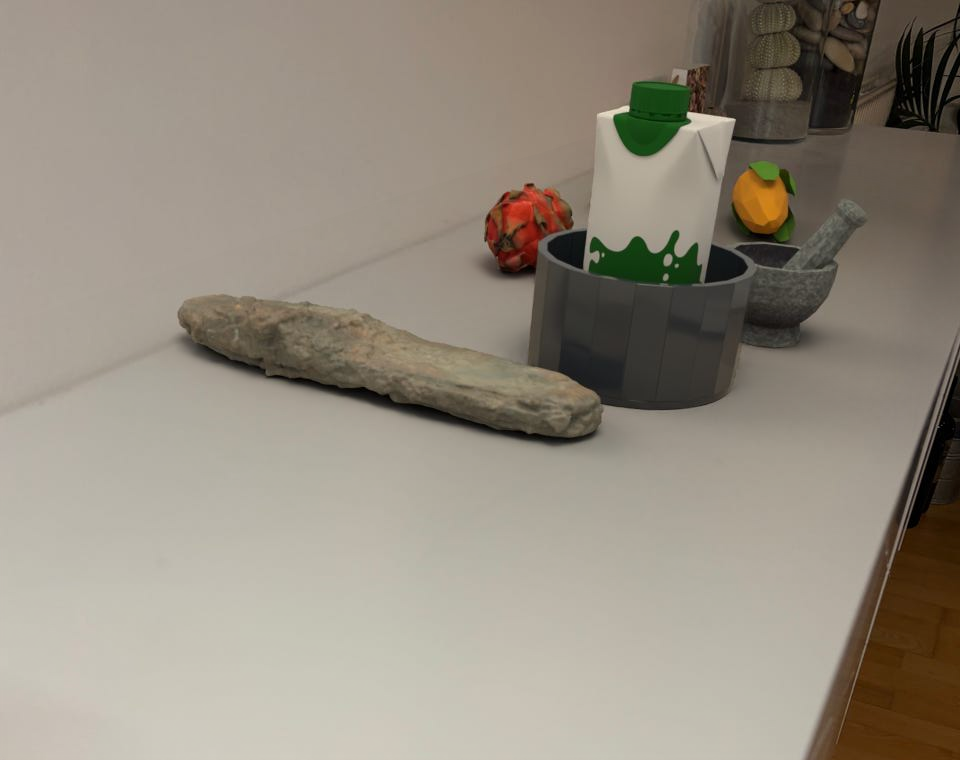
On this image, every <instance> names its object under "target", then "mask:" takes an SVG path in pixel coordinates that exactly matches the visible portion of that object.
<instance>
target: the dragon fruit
mask: <svg viewBox="0 0 960 760" xmlns="http://www.w3.org/2000/svg"><path fill="white" fill-rule="evenodd" d="M571 207H572V206H570V204H569V203H568V202H567V201H565V200H564V199H563V198H561V194H560V192H559V190H557V189H556V188H550V187H547V188H545V189H544V191H542V190H541V188H537V187H536V186H535V183H534V182H525V183H524V185H523V188H522V190H516V189H510V190H507V191H506V192H504V193H503V194H502V195H501V196H500V197H499V198H498V200H497V201H496V203H495V204H494V206H492V208H491V209H490V210H489V211H488V213H487V214H486V217H485V219H484V233H483V241H484V243H487V246H488V248H489V250H490V251H491V253H492V255H493V256H494V257H495V258H497V259H496V261H497V262H498V266H497V271H499V272H501V273H503V272H510V273H516V272H518V271H520V270H521V269H523V268H526V267H527V266H532V267H533V268H534V269H535V270H536V263H537V252H538V242H539V241H541V240H542V239H544V238H545V237H547V236H548V235H550V234H554V233H558V232H562V231H566V230H571V229H573V227H574V225H575V221H574V220H573V218H572V216H573V210H572V208H571Z"/></svg>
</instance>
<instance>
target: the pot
mask: <svg viewBox="0 0 960 760" xmlns="http://www.w3.org/2000/svg"><path fill="white" fill-rule="evenodd" d="M587 228H588V227H583V228H572V229H571V230H566V231H562V232H558V233H554V234H550V235H548V236H547V237H545V238H544V239H542V240H541V241H539V242H538V252H537V263H536V269H535V275H534V285H533V286H534V287H533V296H532V307H531V317H530V327H529V328H530V330H529V340H528V349H527V350H528V352H527V366H530V367H539V368H543V369H547V370H550V371H554V372H558V373H561V374H563V375H565V376H568V377H569V378H571V380H573V381H576V382H577V383H578V384H580V385H581V386H583V387H585V388H587V389H590V390H593V391H594V392H595V393H596V394H597V395H598V396H599V397H600V399H601V404H603V405H609V406H614V407H622V408H629V409H641V410H642V409H643V410H675V409H678V410H679V409H688V408H694V407H700V406H703V405H709V404H711V403H714V402H716V401H718V400H720V399H723V398H724V397H725V396H726V395H728V394H729V393H730V391H731V390H732V388H733V385H734V381H735V379H736V376H737V372H738V367H739V361H740V358H741V352H742V348H743V343H744V342H743V338H744V333H745V328H746V323H747V319H748V314H749V309H750V304H751V299H752V294H753V289H754V285H755V280H756V275H757V270H758V268H757V267H756V265H755V263H754V261H753V260H752V259H751V258H749V257H748V256H746V255H744V254H743V253H741V252H739V251H738V250H736V249H733V248H730V247H727V246H728V245H724V244H722V243H719V242H716V241H713V240H712V242H711V248H710V253H709V259H708V264H707V270H706V275H705V281H704V284H664V283H652V282H640V281H634V280H628V279H622V278H616V277H610V276H604V275H600V274H596V273H593V272H589V271H585V270H583V263H584V254H585V246H586V237H587Z"/></svg>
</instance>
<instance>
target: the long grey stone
mask: <svg viewBox="0 0 960 760" xmlns="http://www.w3.org/2000/svg"><path fill="white" fill-rule="evenodd" d="M177 319H178V325H179V327H181V328H182V329H184V330H186V333H187V337H188V339H189V340H192V341H193V343H196V344H201V345H203V346H206V347H208V348H209V349H211V350H213V351H214V352H216V353H218V354H221V355H223V356H224V357H226V358H228V359H229V360H231V361H238V362H240V363H241V362H243V363H245V364H247V365H248V366H256V367H259V368H260V369H261V370H265V375H266V376H267V377H273V376H280V377H281V376H283V377H285V378H288V379H297V378H302V379H309V380H312V381H314V382H317V383H320V384H322V385H331V386H332V385H333V386H337V387H338V388H340V389H348V388H349V389H355V388H366V389H368V390H369V391H372V392H376V393H377V394H378V395H381V396H384V395H389V399H391V400H392V401H393V402H394V403H398V404H413V405H421V406H424V407H428V408H430V409H435V410H438V411H441V412H444V413H449V415H452V416H454V417H457V418H460V419H463V420H467V421H470V422H473V423H477V424H479V425H480V424H481V425H486V426H487V427H490V428H493V429H494V430H497V431H503V430H506V431H512V432H514V431H521V432H523V433H526V434H528V435H532V434H538V435H543V436H548V437H549V436H550V437H556V438H557V437H558V438H567V439H568V438H577V437H584V436H586V435H588V434H592V433H593V432H594V431H595V430H597V429H598V427H599V426H600V425H601V424H602V419H603V417H602V416H603V413H604V406H603V405H602V403H601V399H600V397H599V396H598V395H597V394H596V393H595V392H594V391H593V390H590V389H587V388H585V387H583V386H581V385H580V384H578V383H577V382H576V381H573V380H571V378H569V377H568V376H565V375H563V374H561V373H558V372H554V371H550V370H547V369H543V368H539V367H530V366H528V364H527V365H526V364H521V363H519V362H517V361H513V360H510V359H506V358H501V357H498V356H495V355H493V354H489V353H485V352H481V351H477V350H473V349H470V348H466V347H459V346H455V345H451V344H447V343H441V342H437V341H431V340H427V339H424V338H422V337H420V336H417V335H416V334H413V333H412V332H410V331H406V330H404V329H400V328H396V327H394V326H391V325H389V324H387V323H386V322H384V321H382V320H381V319H377V318H374V317H373V316H372V315H370V314H369V313H366V312H364V313H363V312H361V311H358V310H357V309H355V308H344V307H340V308H335V307H332V306H327V305H320V304H317V303H315V304H314V303H311V302H310V301H308V300H304V301H300V302H289V301H282V300H273V299H261V298H256V297H255V296H250V295H242V296H240V297H237V296H233V295H229V294H225V293H219V294H209V295H208V294H207V295H200V296H199V295H198V296H194V297H190V298H187V299H185V300H184V301H183V303H182V304H181V306H180V307H179V308H178V310H177Z"/></svg>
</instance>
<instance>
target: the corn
mask: <svg viewBox="0 0 960 760" xmlns="http://www.w3.org/2000/svg"><path fill="white" fill-rule="evenodd" d="M789 194H790V195H792V196H793V197H794V202H797V184H796V181H795V179H794V178H793V176H792V175H791V173H790V171H788V170H787V169H786V168H779V166H778V164H776V163H774V162H769V161H765V160H759V161H756V162H752V163H749V164H748V169H747V170H746V171H745V172H743V173H742V174H741V175H739V177H738V179H737V181H736V183H735V185H734V186H733V191H732V202H731V204H730V207H731V208H730V209H731V215H732V216H733V218H734V220H735V222H736V223H737V226H738V227H739V229H740V230H741V231H742V233H743V234H745V235H747V236H749V237H750V236H751V232H752V233H756V234H765V235H770V234H771V235H773V237H774V238H775V239H776V240H777V241H778V242H779V243H781V242H786V241H788V240H789V239H790V238H791V236H792V235H793V232H794V229H795V226H796V221H795V219H796V218H795V216H794V213H793V211H792V209H791V207H790V205H789Z"/></svg>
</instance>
